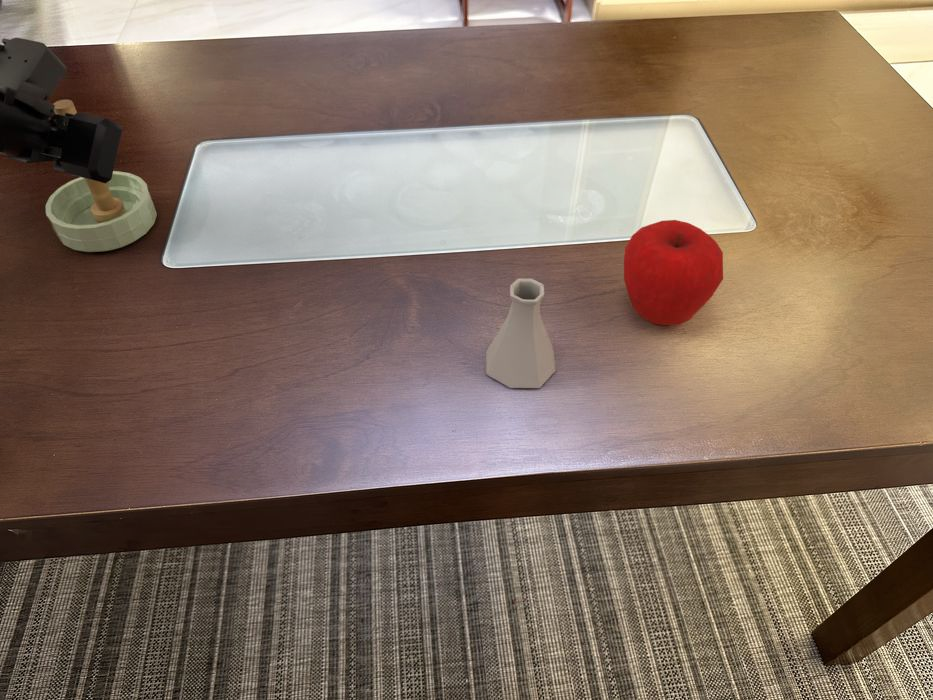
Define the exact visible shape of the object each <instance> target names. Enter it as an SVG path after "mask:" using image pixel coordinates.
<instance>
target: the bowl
mask: <svg viewBox="0 0 933 700" xmlns="http://www.w3.org/2000/svg"><path fill="white" fill-rule="evenodd" d="M107 185H108V187H109V190H110V192H111V194H112V197H115V198H118V199H120V200H121V201H122V202H123V205H124V207H125V209H126V212H127V213H125V214H124V215H122V216H120V217H118V218H115V219H113V220H111V221H108V222H103V223H99V224H98V223H97V222H96V221H95V219H94V216H93V214H92V212H91V206H92V205H93V204H94V203H95V201H94V199H93V196H92V194H91V192H90V190H89V187H88V185H87V183H86V181H85V178H82V177H77V178H75V179H71V180H70V181H68V182H66V183H64V184H63V185H61V186H60V187H58V188H57V189H56V190H55V191H54V192H53V193H52V194H51V195H50V196H49V197H48V200H47V201H46V204H45V215H46V218H47V219H48V221H49V223H50V225H51V227H52V229H53V231H54V233H55V235H56V236H57V239H58V240H59V241H60V242H61V243H62V245H64V246H66V247H68V248H69V249H72V250H74V251H78V252H84V253H85V252H86V253H96V252H97V253H98V252H99V253H100V252H109V251H113V250H118V249H121V248H124V247H126V246H128V245H130V244H132V243H134V242H136V241H137V240H139V239H140V238H141V237H143V236H144V235H146V234H147V233H149V231H150V230H151V228H152V227H153V226H154V225H155V223H156V220H157V216H158V212H157V209H156V205H155V203H154V199H153V197H152V194H151V192H150V190H149V186H148V184H147V182H145V181H144V180H143V179H142V178H141V177H140V176H137V175H136V174H133V173H130V172H124V171H117V170H113V174H112V179H111V180H110V181H109V182H107Z"/></svg>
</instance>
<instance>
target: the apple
mask: <svg viewBox="0 0 933 700" xmlns="http://www.w3.org/2000/svg"><path fill="white" fill-rule="evenodd" d="M723 280H724V252H723V250H722V249H721V247H720V245H719V244H718V242H717V241H716V240H715V239H714V238H713V237H712V236H711V235H709V234H708V233H707V232H706V231H704V230H703V229H701V228H700V227H698V226H695V225H694V224H692V223H689V222H686V221H681V220H678V219H667V220H660V221H656V222H654V223H651V224H648V225H645V226H642V227H640V228H639V229H638V230H637V231H636V232H634V233H632V235H631V237H630V238H629V240H628V242H627V244H626V246H625V247H624V255H623V281H624V285H625V288H626V292H627V295H628V298H629V302H630V305H631V308H632V309H633V310H634V312H636V314H637V315H638V316H639V317H641V318H642V319H644V320H646V321H648V322H650V323H651V324H655V325H659V326H674V325H675V326H677V325H681V324H683V323H686V322H688V321H690V320H691V319H692V318H693V317H694V316H695V315H696V314H697V313H698V312H699V311H700V310H701V309H702V308H703V306H705V305H706V303H708V302H709V300H710V299H711V298H713V296H714V294H715V292H717V290H718V288H719V287H720V285H721V283H722V282H723Z"/></svg>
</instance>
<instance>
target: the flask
mask: <svg viewBox="0 0 933 700" xmlns="http://www.w3.org/2000/svg"><path fill="white" fill-rule="evenodd" d="M509 295H510V297H509V298H510V300H511V304H510V307H509V311H508V314H507V316H506V318H505V320H504V321H503V323H502V325H501V327H500V328H499V330H498V332H497V334H496V336H495V337H494V339H493V340H492V342H491V343H490V345H489V346H488V348H487V349H486V352H485V374H486V375H487V376H488V377H491V378H492V379H494V380H496V381H498V382H499V383H501V384H503V385H504V386H506V387H508V388H510V389H540V388H542V386H543V385H544V384H545V383H546V382H547V381H548V380H549V379H550V378H551V376H553V374H554V373H555V372H556V359H555V350H554V347H553V344H552V342H551V339H550V337H549V334H548V332H547V330H546V326H545V324H544V321H543V317H542V314H541V309H540V308H541V301H542V299H544V297H545V286H544V283H541V282H540V281H537V280H535V279H534V278H517V279H516V280H515V281H514V282H513V283H512V284H510V286H509Z"/></svg>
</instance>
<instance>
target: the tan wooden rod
mask: <svg viewBox="0 0 933 700" xmlns="http://www.w3.org/2000/svg"><path fill="white" fill-rule="evenodd" d="M52 104H53V105H55V108H54V113H55V114H59V115H63V116H65V113H69V114H73V115H74V114H76V113H77V109H76V107H75V105H74V102H73V100H71V99H59V100H57V101H55V102H54V103H52ZM85 181H86V183H87V185H88V187H89V190H90V192H91V194H92V196H93V199H94V201H95V203H94V204H93V205H92V206H91V212H92V214H93V216H94V219H95V221H96V222H97V223H98V224H99V223H103V222H108V221H111V220H113V219H115V218H118V217H120V216H122V215H124V214H125V213H127V212H126V209H125V207H124V205H123V202H122V201H121V200H120V199H118V198H115V197H112V194H111V192H110V190H109V187H108V185H107V183H106V184H105V183H101V182H97V181H93V180H89V179H85Z"/></svg>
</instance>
